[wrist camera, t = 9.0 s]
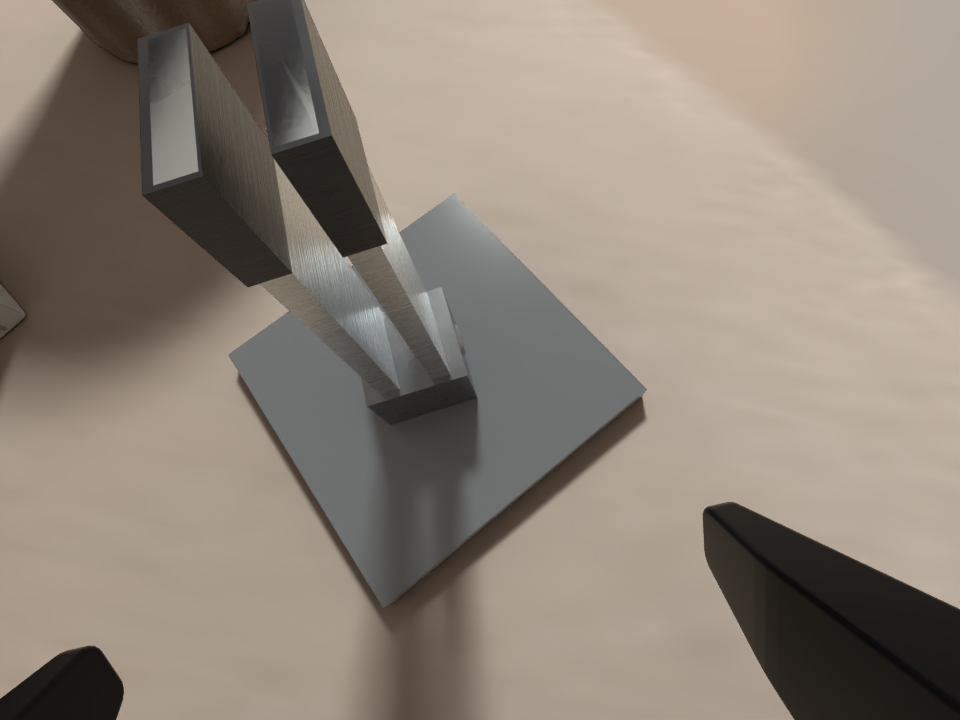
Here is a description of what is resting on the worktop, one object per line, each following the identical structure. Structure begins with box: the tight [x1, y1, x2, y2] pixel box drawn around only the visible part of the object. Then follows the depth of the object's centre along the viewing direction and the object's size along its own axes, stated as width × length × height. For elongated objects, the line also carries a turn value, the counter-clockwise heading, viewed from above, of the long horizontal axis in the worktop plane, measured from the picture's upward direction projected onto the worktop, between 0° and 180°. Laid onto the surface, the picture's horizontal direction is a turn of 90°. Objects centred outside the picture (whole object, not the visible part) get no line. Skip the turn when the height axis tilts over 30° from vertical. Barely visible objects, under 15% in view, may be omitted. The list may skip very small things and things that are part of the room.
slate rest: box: [229, 194, 647, 608], centre depth 18 cm, size 11×11×1 cm
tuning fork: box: [137, 0, 478, 425], centre depth 12 cm, size 3×3×12 cm
